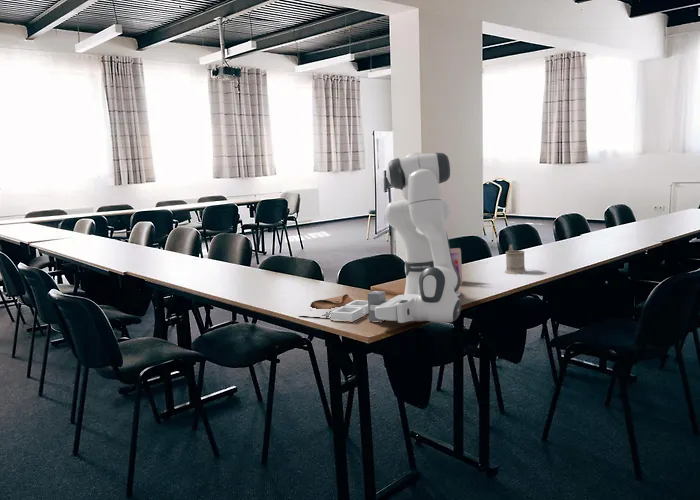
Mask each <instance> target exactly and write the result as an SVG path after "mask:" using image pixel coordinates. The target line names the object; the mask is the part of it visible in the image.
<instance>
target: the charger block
mask: <svg viewBox="0 0 700 500" xmlns="http://www.w3.org/2000/svg"><path fill="white" fill-rule="evenodd" d="M366 295H367V301H368V311H369V314H368V322H369V321H379V322H381V321H383V320H382V319H378V318H376V317H375V311H374V310H370V305H372V304H376V305H381V304H383V303H384V302H386V300H387V299H386V291H385V290H384V291H383V290H372V291H370V292H368V293H366Z"/></svg>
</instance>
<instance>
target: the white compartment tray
mask: <svg viewBox="0 0 700 500" xmlns="http://www.w3.org/2000/svg"><path fill="white" fill-rule="evenodd" d="M367 313H369V311H368V300H363V299H362V300H361V299H355V300H353V302H351V303H348V304H346V305H345V306H342V307H340V308H338V309H336V310H334V311H331V318H330V319H339V320H349V321H353V320H355V319H357V318H359V317H361V316H363V315H365V314H367ZM330 319H329V320H330Z"/></svg>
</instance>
